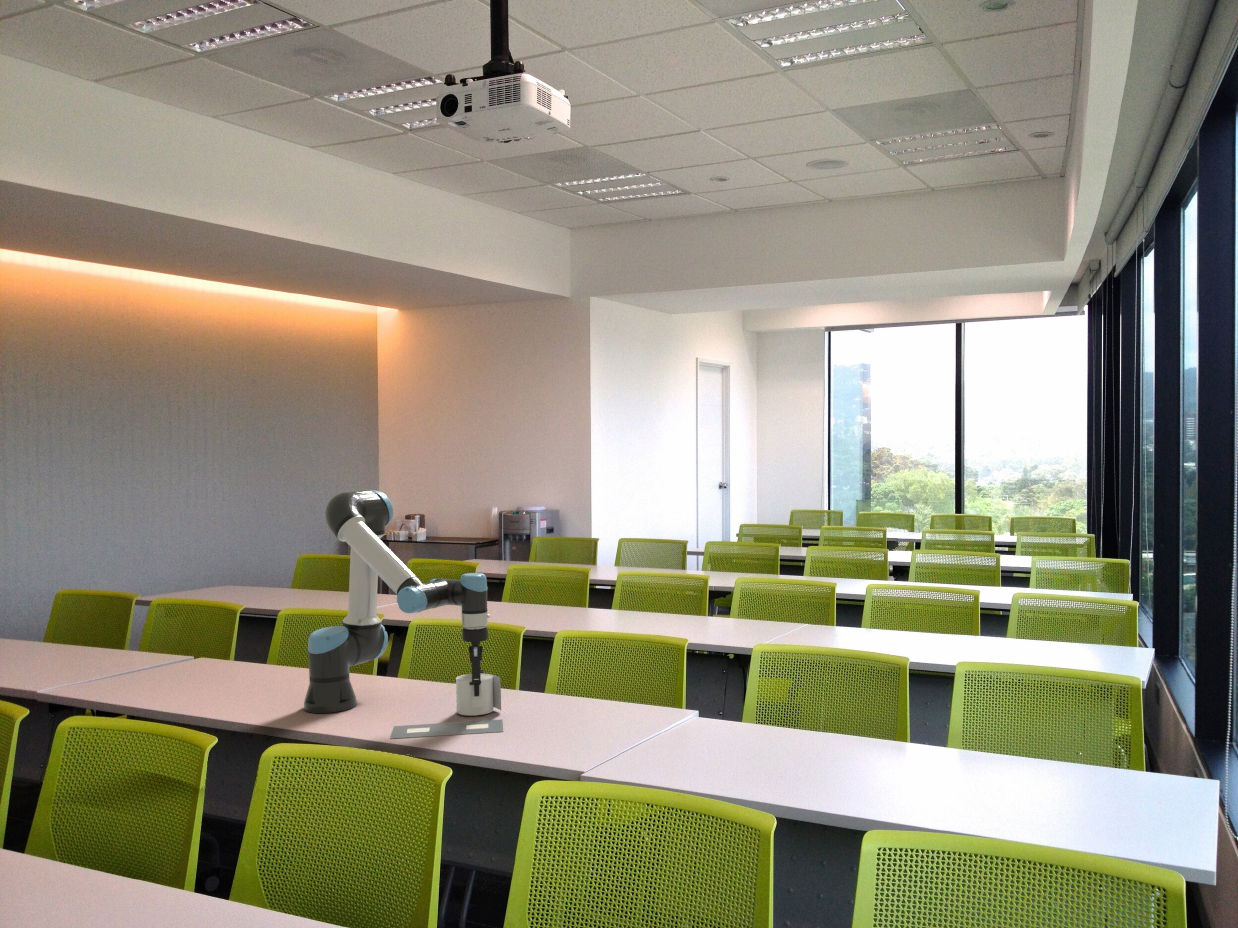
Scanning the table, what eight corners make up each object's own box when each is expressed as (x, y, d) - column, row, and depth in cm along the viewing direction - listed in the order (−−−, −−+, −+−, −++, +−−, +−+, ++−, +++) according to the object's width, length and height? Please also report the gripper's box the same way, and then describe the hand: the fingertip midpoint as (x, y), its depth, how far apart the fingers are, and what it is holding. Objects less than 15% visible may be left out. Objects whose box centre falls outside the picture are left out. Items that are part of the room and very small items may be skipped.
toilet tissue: (453, 709, 295) (452, 675, 295) (493, 704, 299) (492, 671, 299) (460, 717, 285) (460, 682, 285) (502, 712, 289) (501, 678, 289)
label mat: (390, 738, 267) (390, 738, 267) (394, 726, 279) (394, 725, 279) (503, 731, 271) (503, 730, 271) (502, 719, 283) (502, 718, 283)
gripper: (488, 633, 280) (490, 711, 281) (487, 619, 303) (489, 690, 304) (461, 634, 279) (463, 712, 280) (462, 620, 302) (464, 692, 303)
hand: (477, 701), depth 292 cm, fingers open, 11 cm apart
